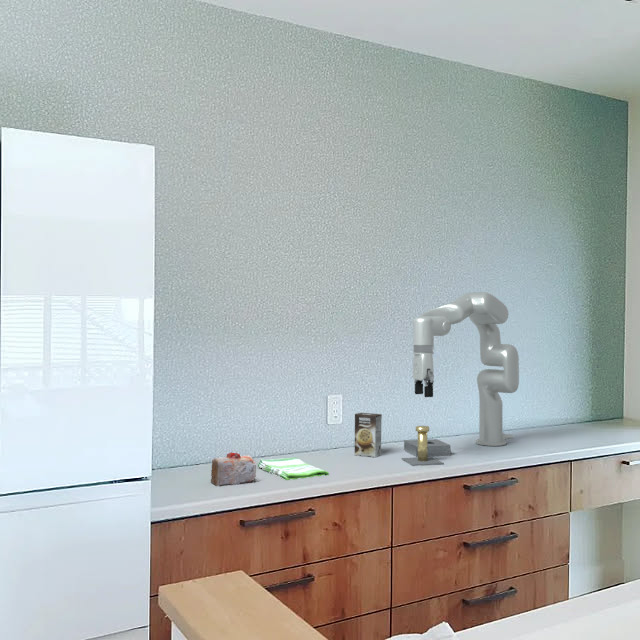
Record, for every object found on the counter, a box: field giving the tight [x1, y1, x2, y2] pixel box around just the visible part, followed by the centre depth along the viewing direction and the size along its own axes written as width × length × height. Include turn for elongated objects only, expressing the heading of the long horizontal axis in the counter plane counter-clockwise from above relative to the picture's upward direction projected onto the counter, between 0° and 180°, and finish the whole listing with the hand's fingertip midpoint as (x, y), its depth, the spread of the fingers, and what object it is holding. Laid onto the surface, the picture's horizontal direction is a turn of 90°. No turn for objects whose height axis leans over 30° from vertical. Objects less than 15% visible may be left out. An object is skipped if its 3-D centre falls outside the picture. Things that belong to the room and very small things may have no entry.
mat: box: [401, 456, 445, 466], centre depth 264 cm, size 12×12×1 cm
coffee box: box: [354, 412, 383, 458], centre depth 277 cm, size 9×6×16 cm
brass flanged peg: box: [415, 425, 430, 461], centre depth 264 cm, size 5×5×12 cm
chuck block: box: [403, 438, 451, 457], centre depth 282 cm, size 14×14×4 cm
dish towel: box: [257, 456, 330, 481], centre depth 248 cm, size 17×23×4 cm
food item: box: [210, 452, 257, 487], centre depth 231 cm, size 14×8×10 cm, turn 119°
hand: (423, 395), depth 267 cm, fingers open, 9 cm apart
